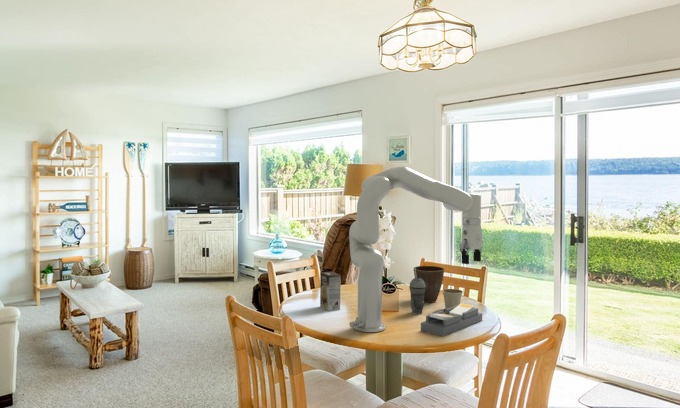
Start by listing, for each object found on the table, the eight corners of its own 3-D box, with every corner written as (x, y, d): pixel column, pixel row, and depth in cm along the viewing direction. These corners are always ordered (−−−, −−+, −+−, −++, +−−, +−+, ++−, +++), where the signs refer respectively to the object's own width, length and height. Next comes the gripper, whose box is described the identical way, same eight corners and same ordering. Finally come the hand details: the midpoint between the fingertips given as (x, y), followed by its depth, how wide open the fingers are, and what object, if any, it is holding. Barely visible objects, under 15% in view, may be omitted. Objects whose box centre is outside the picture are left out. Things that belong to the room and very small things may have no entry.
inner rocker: (443, 319, 174) (443, 316, 174) (429, 316, 178) (430, 313, 178) (456, 320, 181) (456, 316, 181) (443, 316, 185) (443, 313, 185)
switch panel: (443, 336, 170) (443, 322, 170) (420, 330, 177) (421, 316, 177) (482, 320, 192) (482, 307, 191) (461, 315, 199) (461, 303, 198)
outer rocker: (462, 317, 184) (462, 314, 184) (449, 314, 188) (449, 311, 188) (474, 308, 191) (474, 305, 190) (461, 305, 195) (461, 303, 195)
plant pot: (430, 306, 214) (430, 272, 214) (406, 299, 226) (407, 267, 225) (450, 301, 224) (450, 268, 223) (426, 295, 235) (427, 264, 235)
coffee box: (319, 306, 212) (319, 272, 211) (331, 305, 215) (332, 271, 214) (328, 311, 204) (328, 275, 203) (340, 309, 207) (341, 274, 206)
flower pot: (439, 306, 213) (440, 288, 213) (460, 307, 213) (460, 288, 213) (443, 312, 204) (444, 293, 204) (465, 312, 204) (465, 293, 203)
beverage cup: (425, 315, 199) (425, 269, 198) (408, 314, 200) (409, 269, 199) (425, 310, 206) (426, 266, 205) (409, 309, 207) (409, 266, 206)
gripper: (468, 224, 184) (468, 266, 185) (489, 221, 196) (489, 261, 197) (452, 223, 189) (452, 264, 190) (473, 220, 201) (473, 259, 202)
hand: (471, 262), depth 193 cm, fingers open, 9 cm apart
